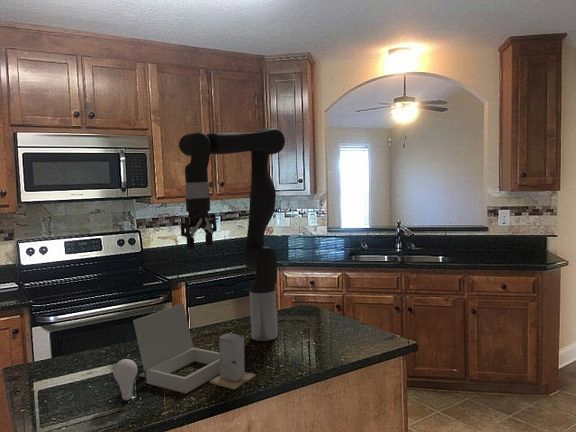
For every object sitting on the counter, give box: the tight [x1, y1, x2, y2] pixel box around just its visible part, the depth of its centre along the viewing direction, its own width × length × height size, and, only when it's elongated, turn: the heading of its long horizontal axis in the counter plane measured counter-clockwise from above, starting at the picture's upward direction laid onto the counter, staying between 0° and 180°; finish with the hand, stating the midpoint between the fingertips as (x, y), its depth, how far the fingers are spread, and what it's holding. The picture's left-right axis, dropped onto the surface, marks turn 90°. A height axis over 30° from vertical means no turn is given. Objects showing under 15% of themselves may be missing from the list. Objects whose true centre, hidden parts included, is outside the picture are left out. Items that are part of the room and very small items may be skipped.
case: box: [145, 347, 220, 394], centre depth 145 cm, size 20×15×4 cm
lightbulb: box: [112, 358, 138, 401], centre depth 129 cm, size 6×6×11 cm
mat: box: [208, 371, 256, 390], centre depth 140 cm, size 10×9×1 cm
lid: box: [132, 303, 194, 371], centre depth 149 cm, size 20×14×1 cm
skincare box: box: [219, 332, 246, 381], centre depth 140 cm, size 6×4×12 cm
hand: (200, 247), depth 156 cm, fingers open, 8 cm apart
